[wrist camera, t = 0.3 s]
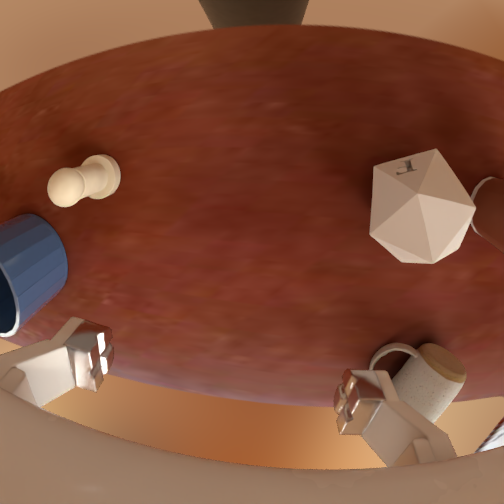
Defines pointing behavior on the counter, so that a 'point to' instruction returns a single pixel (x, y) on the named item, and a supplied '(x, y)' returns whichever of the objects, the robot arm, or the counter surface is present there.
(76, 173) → the ivory pawn
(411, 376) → the ceramic mug
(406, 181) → the die
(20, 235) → the cup
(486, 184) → the coffee cup
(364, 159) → the counter surface
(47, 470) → the robot arm
